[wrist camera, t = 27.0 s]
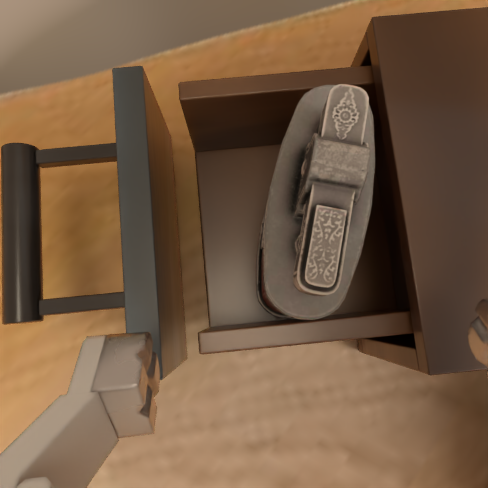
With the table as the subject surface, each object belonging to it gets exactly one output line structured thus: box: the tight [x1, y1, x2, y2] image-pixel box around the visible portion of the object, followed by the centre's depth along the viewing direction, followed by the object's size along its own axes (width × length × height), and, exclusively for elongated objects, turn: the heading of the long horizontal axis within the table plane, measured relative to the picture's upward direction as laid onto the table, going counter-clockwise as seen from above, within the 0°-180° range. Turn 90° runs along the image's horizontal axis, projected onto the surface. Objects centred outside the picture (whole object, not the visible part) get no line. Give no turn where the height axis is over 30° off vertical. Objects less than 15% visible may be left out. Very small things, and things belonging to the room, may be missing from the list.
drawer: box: [1, 65, 414, 380], centre depth 19 cm, size 17×12×7 cm
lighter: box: [256, 84, 375, 320], centre depth 17 cm, size 8×3×10 cm, turn 169°
